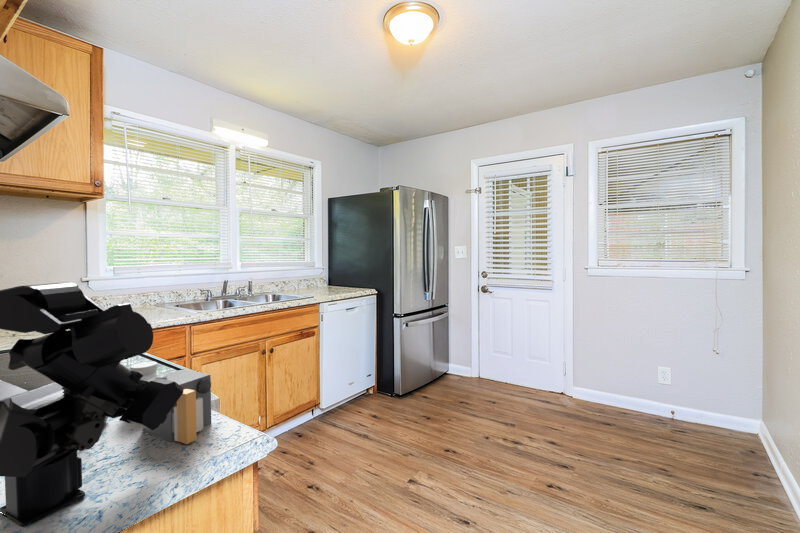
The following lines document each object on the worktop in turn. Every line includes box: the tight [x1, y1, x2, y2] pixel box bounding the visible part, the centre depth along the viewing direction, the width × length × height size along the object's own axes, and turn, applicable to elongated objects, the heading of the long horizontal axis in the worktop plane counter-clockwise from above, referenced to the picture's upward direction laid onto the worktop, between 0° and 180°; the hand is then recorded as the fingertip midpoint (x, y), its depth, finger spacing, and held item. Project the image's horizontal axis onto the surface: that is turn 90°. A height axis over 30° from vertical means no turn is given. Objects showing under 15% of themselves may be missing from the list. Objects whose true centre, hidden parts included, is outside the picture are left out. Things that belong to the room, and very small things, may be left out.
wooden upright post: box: [174, 389, 204, 445], centre depth 68 cm, size 5×3×9 cm, turn 155°
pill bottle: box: [129, 361, 161, 380], centre depth 79 cm, size 6×6×10 cm
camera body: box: [142, 369, 212, 442], centre depth 72 cm, size 8×9×10 cm
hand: (163, 420), depth 61 cm, fingers closed
